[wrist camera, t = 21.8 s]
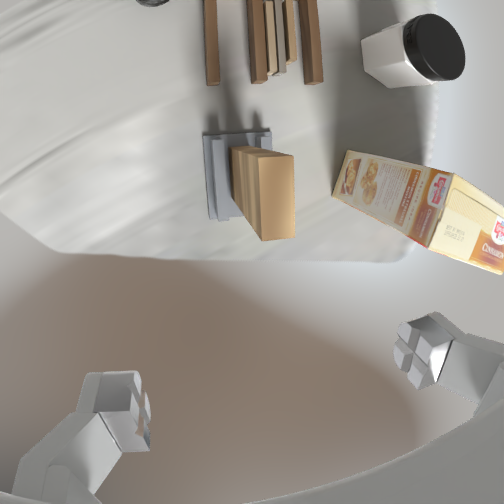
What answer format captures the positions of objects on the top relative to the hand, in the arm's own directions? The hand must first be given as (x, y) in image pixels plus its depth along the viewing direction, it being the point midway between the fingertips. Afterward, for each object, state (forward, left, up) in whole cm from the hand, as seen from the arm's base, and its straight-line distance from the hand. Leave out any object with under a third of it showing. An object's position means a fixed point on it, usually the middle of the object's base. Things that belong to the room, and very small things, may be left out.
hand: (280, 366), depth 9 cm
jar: (+25, +17, -31) cm, 44 cm away
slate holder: (+4, +1, -31) cm, 31 cm away
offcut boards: (+9, +18, -31) cm, 37 cm away
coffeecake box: (+24, -2, -31) cm, 40 cm away
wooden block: (+4, +1, -31) cm, 31 cm away
